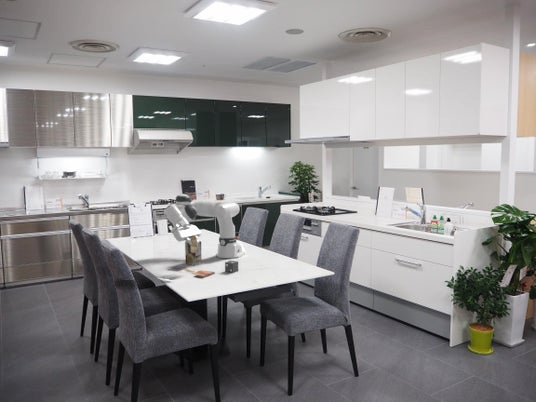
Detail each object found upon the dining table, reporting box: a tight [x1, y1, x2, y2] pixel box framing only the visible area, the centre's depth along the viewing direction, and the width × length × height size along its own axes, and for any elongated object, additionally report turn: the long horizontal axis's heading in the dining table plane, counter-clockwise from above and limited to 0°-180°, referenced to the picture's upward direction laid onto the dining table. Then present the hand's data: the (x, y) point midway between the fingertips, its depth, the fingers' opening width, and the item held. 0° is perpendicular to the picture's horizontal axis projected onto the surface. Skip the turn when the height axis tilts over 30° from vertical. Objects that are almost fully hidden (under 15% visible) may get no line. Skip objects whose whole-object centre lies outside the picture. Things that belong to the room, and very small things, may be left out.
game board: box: [166, 265, 215, 279], centre depth 282 cm, size 12×30×1 cm, turn 61°
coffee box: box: [184, 240, 202, 266], centre depth 301 cm, size 9×6×16 cm
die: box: [224, 260, 239, 274], centre depth 286 cm, size 6×6×6 cm
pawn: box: [189, 235, 199, 253], centre depth 277 cm, size 4×4×11 cm
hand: (195, 243), depth 277 cm, fingers closed on pawn, 4 cm apart
